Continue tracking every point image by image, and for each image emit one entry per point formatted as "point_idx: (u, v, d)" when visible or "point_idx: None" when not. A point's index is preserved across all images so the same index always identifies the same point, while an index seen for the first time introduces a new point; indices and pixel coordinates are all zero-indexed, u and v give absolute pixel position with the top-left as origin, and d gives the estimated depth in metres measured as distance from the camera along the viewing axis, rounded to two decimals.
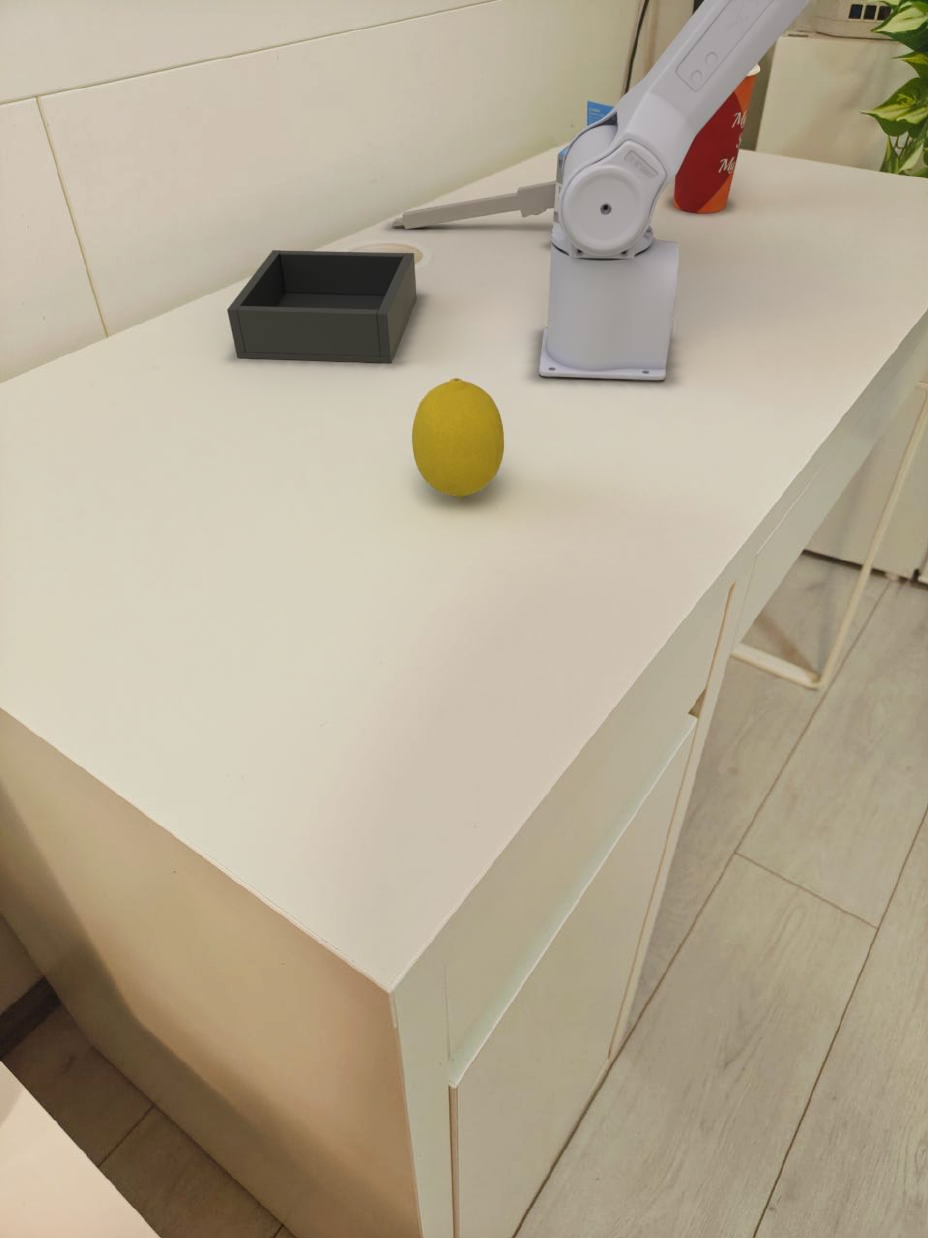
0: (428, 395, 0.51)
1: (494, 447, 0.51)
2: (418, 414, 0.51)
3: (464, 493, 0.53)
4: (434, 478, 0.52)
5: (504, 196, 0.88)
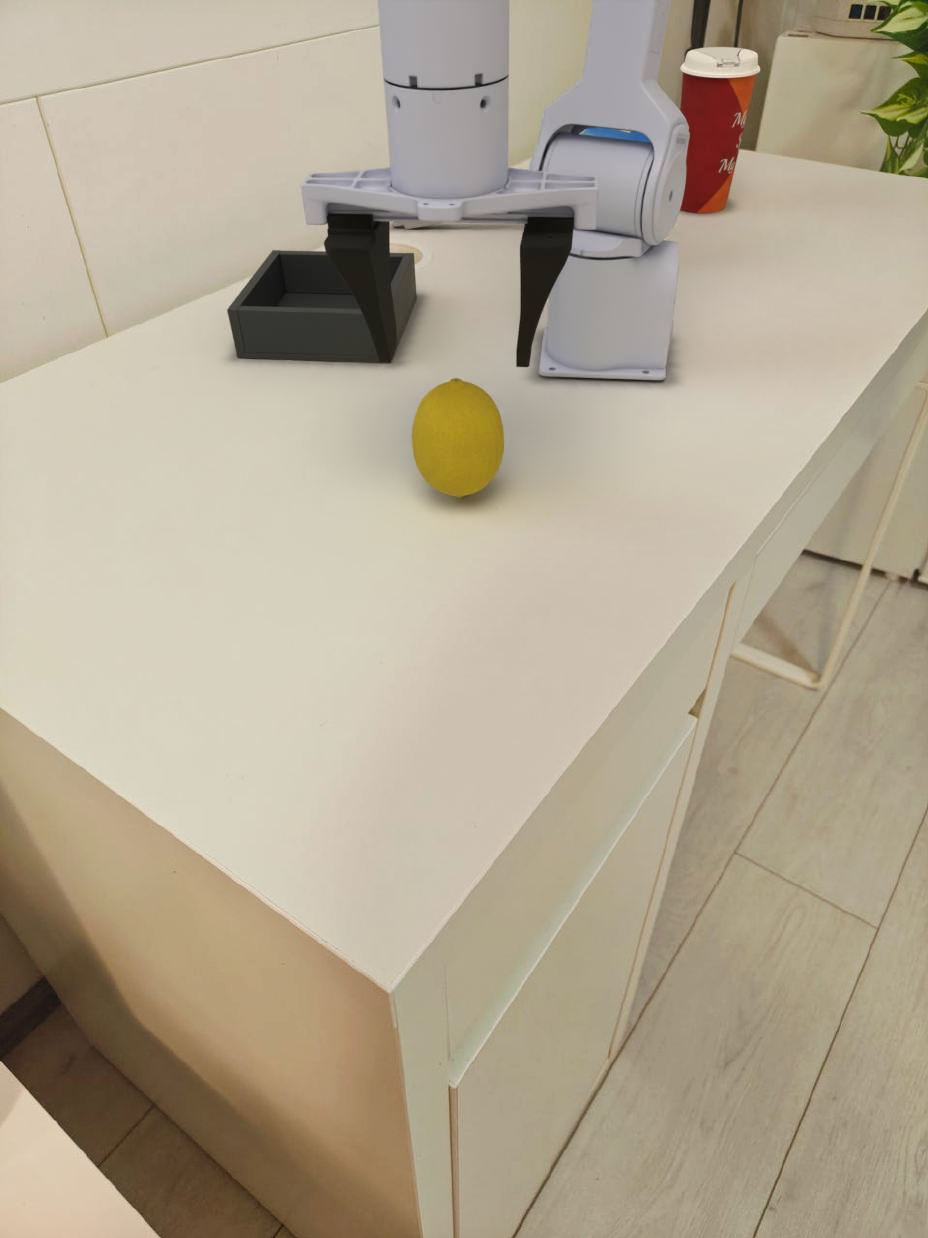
0: (428, 395, 0.51)
1: (494, 447, 0.51)
2: (418, 414, 0.51)
3: (464, 493, 0.53)
4: (434, 478, 0.52)
5: None
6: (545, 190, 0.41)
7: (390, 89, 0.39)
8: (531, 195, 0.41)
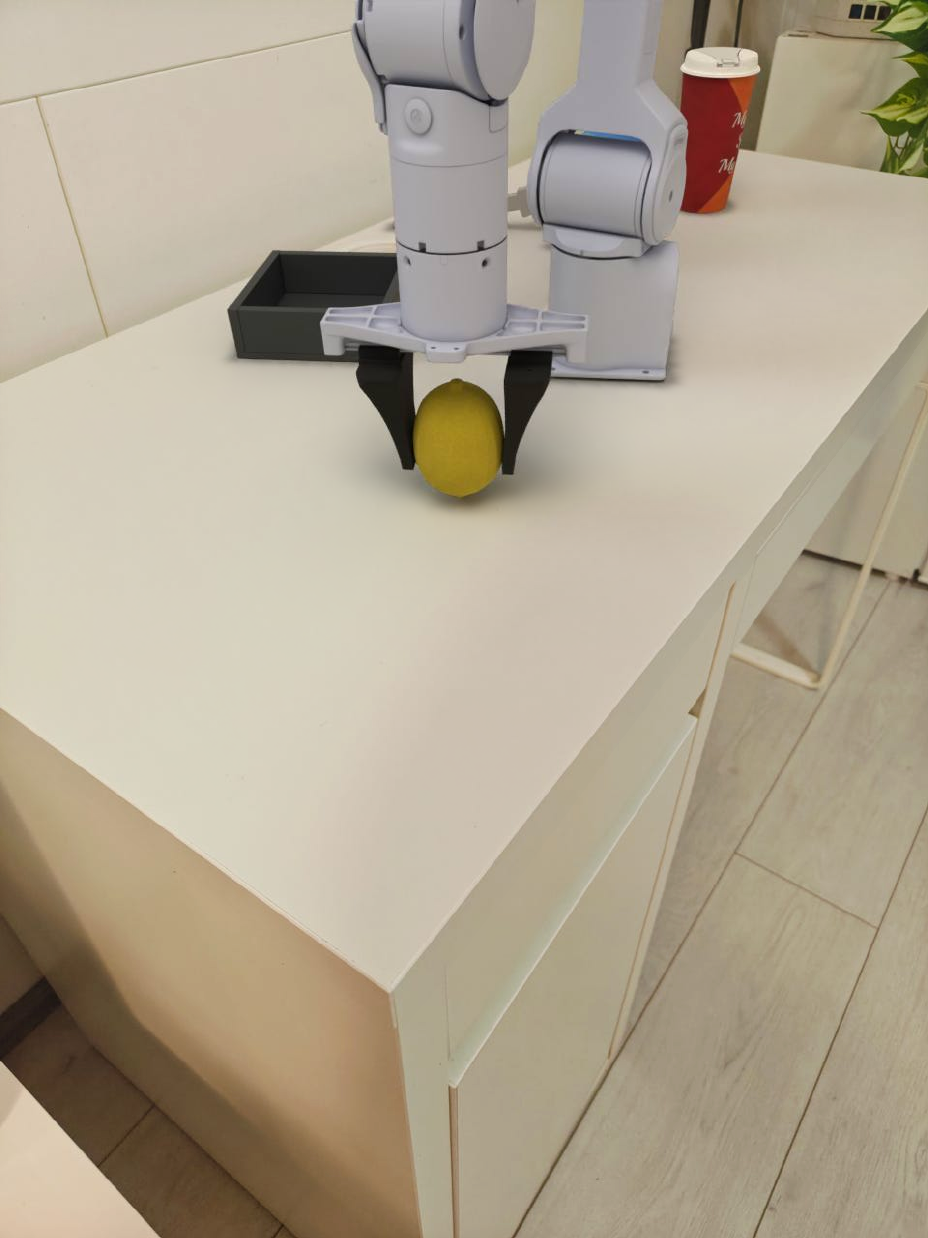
0: (429, 395, 0.51)
1: (494, 447, 0.51)
2: (419, 414, 0.51)
3: (465, 493, 0.53)
4: (434, 478, 0.52)
5: None
6: (540, 332, 0.46)
7: (401, 249, 0.44)
8: (527, 337, 0.46)
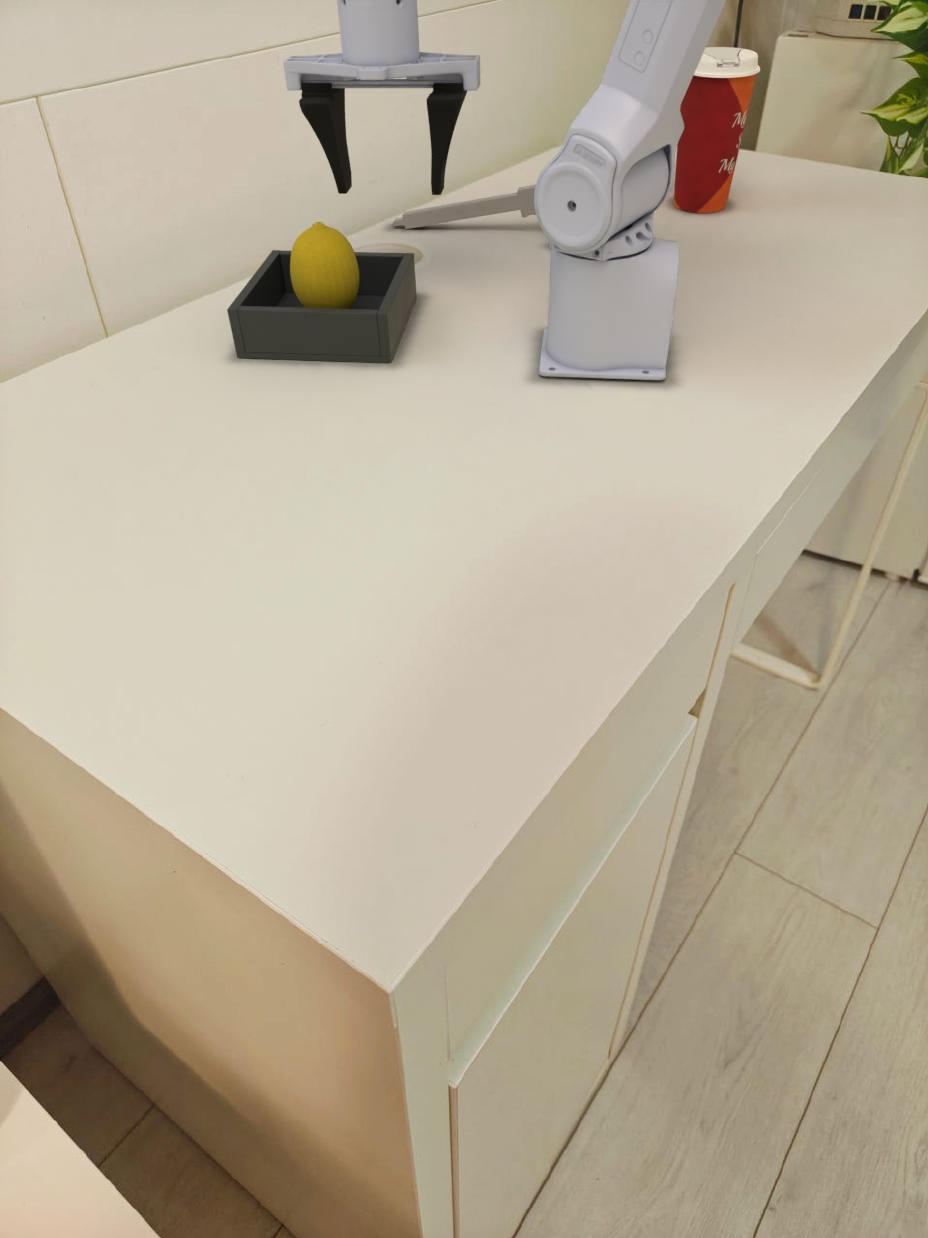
0: (299, 235, 0.69)
1: (348, 274, 0.70)
2: (292, 249, 0.69)
3: None
4: (305, 298, 0.70)
5: (504, 196, 0.88)
6: (442, 61, 0.63)
7: None
8: (433, 64, 0.63)
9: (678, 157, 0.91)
